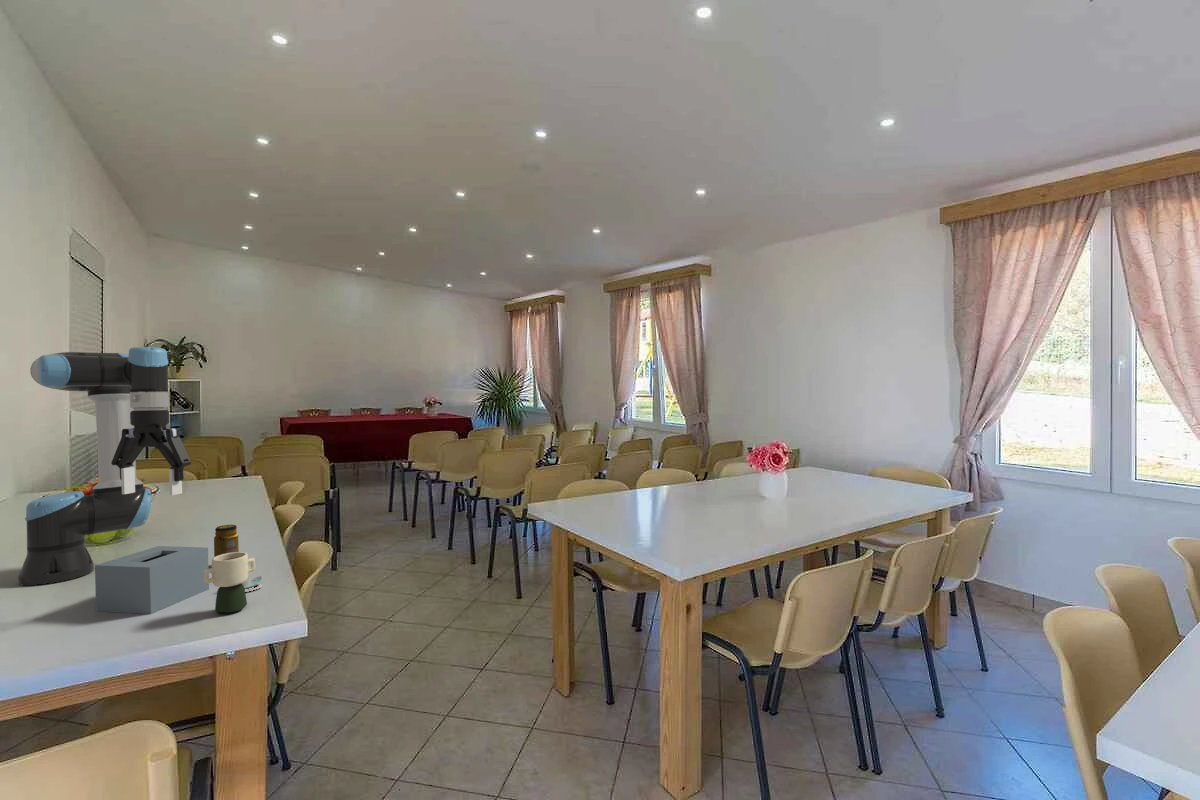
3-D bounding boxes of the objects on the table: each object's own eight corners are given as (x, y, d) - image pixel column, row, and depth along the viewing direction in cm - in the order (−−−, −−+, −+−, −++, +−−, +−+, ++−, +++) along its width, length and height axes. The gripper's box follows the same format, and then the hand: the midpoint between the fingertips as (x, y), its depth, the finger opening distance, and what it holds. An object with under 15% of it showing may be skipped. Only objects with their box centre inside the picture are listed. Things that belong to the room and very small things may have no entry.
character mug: (249, 599, 136) (247, 548, 135) (263, 605, 132) (261, 552, 131) (198, 615, 126) (196, 559, 126) (211, 622, 122) (209, 565, 122)
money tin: (96, 610, 130) (94, 565, 129) (159, 586, 145) (158, 546, 145) (150, 613, 127) (149, 567, 127) (209, 588, 143) (208, 547, 143)
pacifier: (267, 589, 144) (258, 583, 147) (267, 565, 143) (258, 560, 147) (235, 597, 138) (227, 591, 142) (235, 573, 138) (226, 567, 141)
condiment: (239, 561, 167) (238, 522, 167) (242, 567, 161) (241, 527, 160) (210, 566, 163) (209, 526, 162) (212, 573, 156) (211, 531, 156)
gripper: (90, 410, 134) (93, 495, 134) (180, 409, 130) (182, 497, 131) (121, 408, 141) (124, 490, 142) (206, 408, 138) (209, 491, 138)
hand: (152, 494), depth 136 cm, fingers open, 13 cm apart
